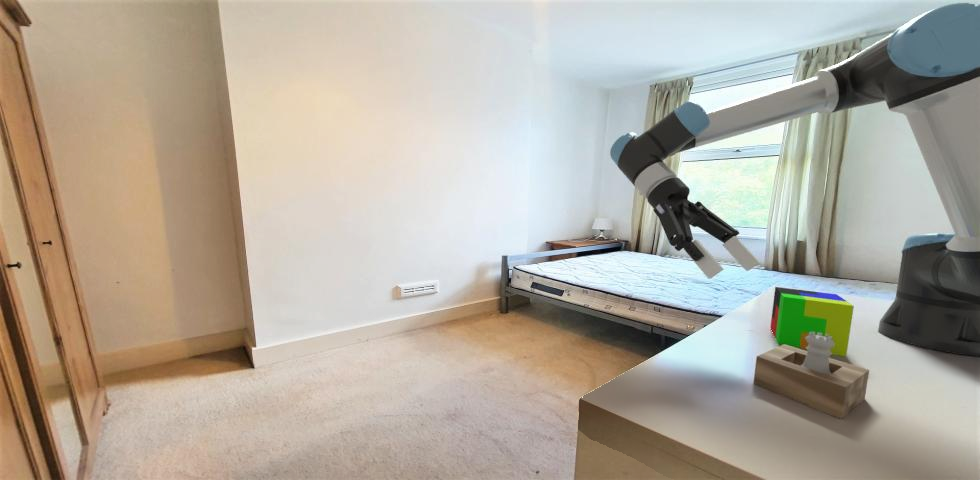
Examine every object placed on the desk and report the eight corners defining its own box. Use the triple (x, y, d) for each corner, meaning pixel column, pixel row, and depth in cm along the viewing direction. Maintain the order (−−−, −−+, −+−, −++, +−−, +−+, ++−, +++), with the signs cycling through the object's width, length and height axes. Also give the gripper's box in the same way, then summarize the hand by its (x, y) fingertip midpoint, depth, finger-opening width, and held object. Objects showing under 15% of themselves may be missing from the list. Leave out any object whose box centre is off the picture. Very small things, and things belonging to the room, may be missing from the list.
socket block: (780, 369, 58) (784, 344, 58) (864, 398, 50) (869, 369, 49) (753, 383, 54) (756, 356, 53) (841, 419, 45) (846, 387, 44)
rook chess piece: (843, 395, 49) (851, 342, 48) (809, 392, 49) (816, 339, 48) (817, 379, 53) (824, 330, 52) (786, 376, 54) (792, 328, 53)
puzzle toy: (829, 339, 73) (836, 294, 71) (846, 356, 64) (853, 305, 63) (770, 329, 78) (775, 286, 77) (778, 344, 70) (783, 296, 68)
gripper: (682, 201, 81) (750, 274, 70) (611, 201, 68) (680, 290, 57) (707, 178, 76) (785, 252, 65) (635, 172, 63) (716, 264, 52)
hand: (736, 270), depth 61 cm, fingers open, 13 cm apart
